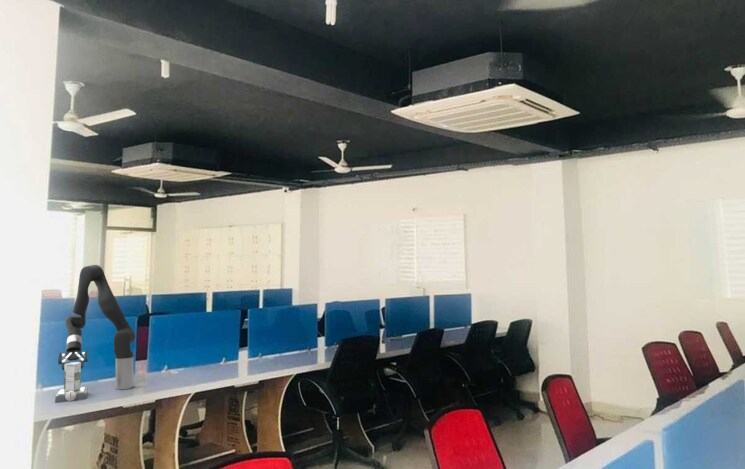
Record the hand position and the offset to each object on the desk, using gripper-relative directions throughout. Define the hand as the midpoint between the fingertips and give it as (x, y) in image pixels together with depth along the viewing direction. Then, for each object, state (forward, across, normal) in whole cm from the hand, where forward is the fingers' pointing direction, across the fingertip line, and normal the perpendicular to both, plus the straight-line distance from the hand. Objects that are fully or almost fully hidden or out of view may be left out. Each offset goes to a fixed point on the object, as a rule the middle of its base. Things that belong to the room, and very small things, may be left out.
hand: (72, 368), depth 293 cm
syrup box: (+12, 0, +4) cm, 12 cm away
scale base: (+14, 0, +6) cm, 16 cm away
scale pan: (+12, 0, +4) cm, 13 cm away
